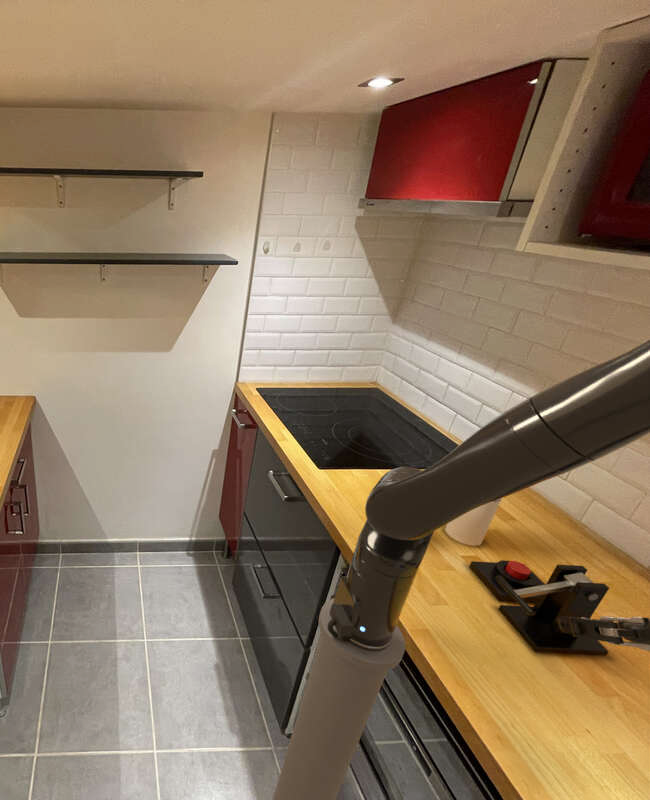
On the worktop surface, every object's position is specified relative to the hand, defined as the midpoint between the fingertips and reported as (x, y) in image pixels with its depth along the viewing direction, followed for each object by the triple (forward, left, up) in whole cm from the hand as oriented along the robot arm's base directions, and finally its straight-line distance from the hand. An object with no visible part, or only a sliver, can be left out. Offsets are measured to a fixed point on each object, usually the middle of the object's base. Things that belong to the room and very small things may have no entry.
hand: (591, 625), depth 66 cm
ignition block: (+10, +23, -15) cm, 29 cm away
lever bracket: (+9, +12, -15) cm, 21 cm away
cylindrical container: (+10, +38, -15) cm, 42 cm away
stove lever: (+6, +12, -6) cm, 14 cm away
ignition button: (+10, +23, -12) cm, 28 cm away
